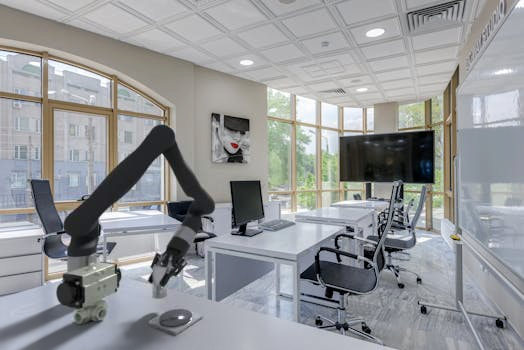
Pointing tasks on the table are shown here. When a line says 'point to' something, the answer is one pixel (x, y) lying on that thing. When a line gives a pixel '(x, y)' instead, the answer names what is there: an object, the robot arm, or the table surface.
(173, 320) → the flange
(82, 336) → the table surface
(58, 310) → the table surface
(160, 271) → the grey cylinder
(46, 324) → the table surface
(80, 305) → the ball valve
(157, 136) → the robot arm
